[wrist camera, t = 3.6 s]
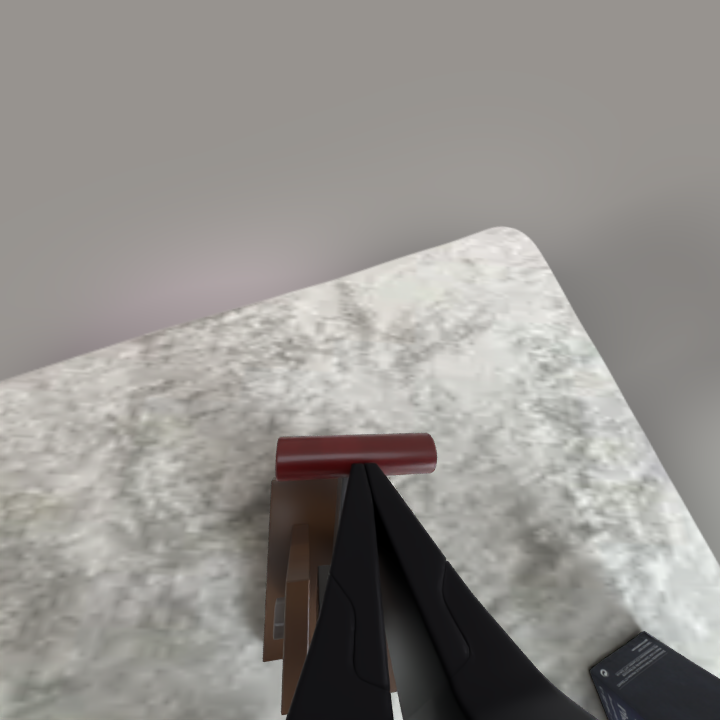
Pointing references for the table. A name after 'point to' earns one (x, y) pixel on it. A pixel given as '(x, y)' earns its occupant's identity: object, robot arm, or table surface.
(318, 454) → the crank
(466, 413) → the table surface
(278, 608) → the bracket
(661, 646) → the small box
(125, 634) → the table surface
